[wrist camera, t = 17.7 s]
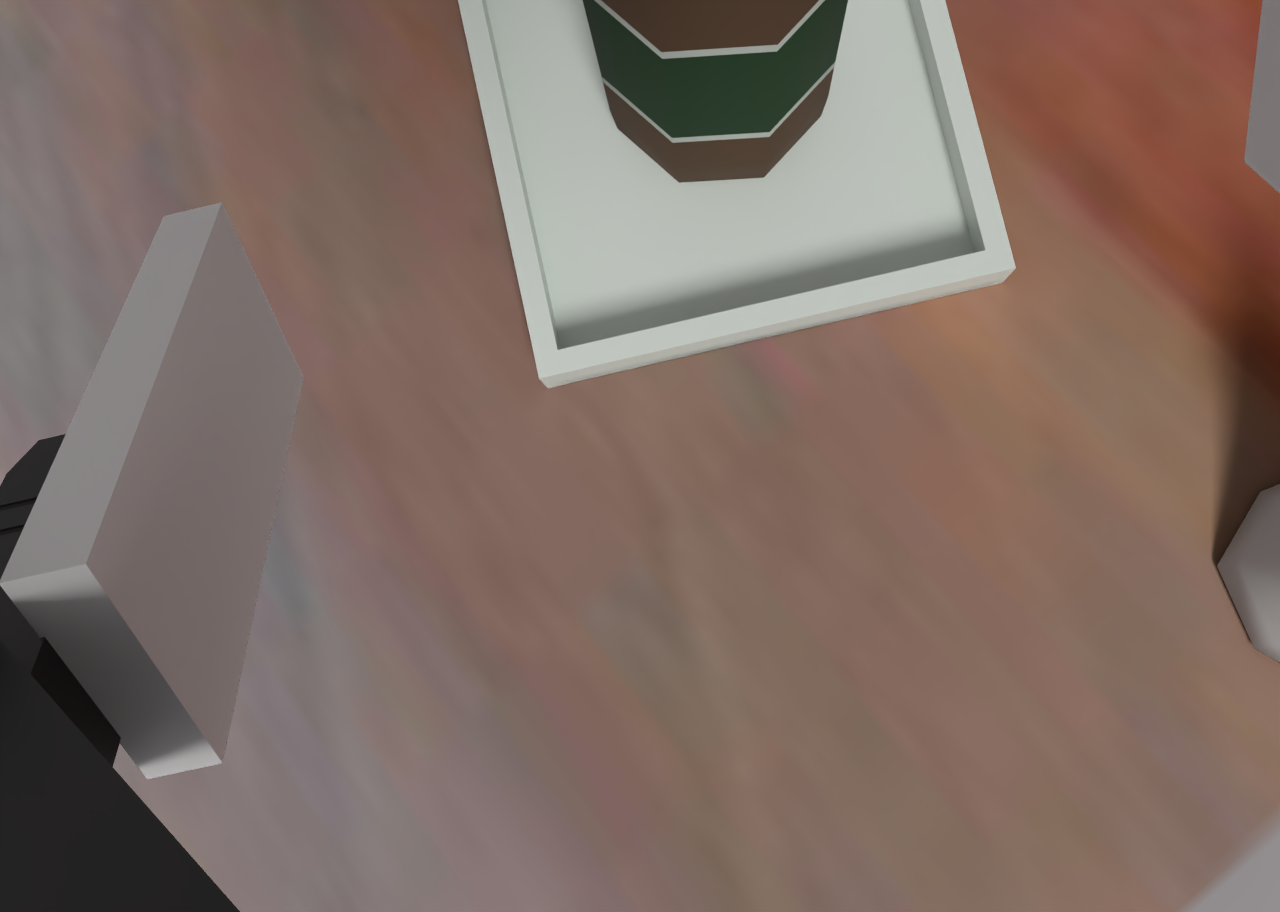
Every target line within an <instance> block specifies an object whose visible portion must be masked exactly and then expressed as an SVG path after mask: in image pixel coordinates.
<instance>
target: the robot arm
mask: <svg viewBox="0 0 1280 912" xmlns="http://www.w3.org/2000/svg"><path fill="white" fill-rule="evenodd" d="M1244 162H1245V163H1246V164H1247V165H1248V166H1250V167H1251V168H1252V169H1253V170H1254V171H1255V172H1256V173H1257V174H1259V175H1260V176H1261V177H1262V178H1263V179H1264V180H1265V181H1266V182H1268V183H1269V184H1270V185H1271V186H1272V187H1273V188H1274V189H1275V190H1277V191H1278V192H1279V193H1280V0H1263V2H1262V11H1261V19H1260V28H1259V37H1258V45H1257V54H1256V63H1255V71H1254V80H1253V89H1252V97H1251V106H1250V115H1249V124H1248V132H1247V141H1246V150H1245V158H1244ZM303 378H304V377H303V375H302V373H301V371H300V368H299V366H298V364H297V362H296V360H295V358H294V356H293V353H292V351H291V349H290V347H289V345H288V343H287V341H286V338H285V336H284V334H283V332H282V330H281V328H280V325H279V323H278V321H277V319H276V317H275V315H274V313H273V310H272V308H271V306H270V304H269V302H268V300H267V298H266V295H265V293H264V291H263V289H262V287H261V285H260V283H259V280H258V278H257V276H256V274H255V272H254V270H253V268H252V265H251V263H250V261H249V259H248V257H247V255H246V253H245V250H244V248H243V246H242V244H241V242H240V240H239V238H238V235H237V233H236V231H235V229H234V227H233V225H232V223H231V220H230V218H229V216H228V214H227V212H226V210H225V208H224V205H223V203H222V202H221V203H217V204H213V205H209V206H204V207H200V208H196V209H192V210H188V211H183V212H179V213H175V214H171V215H167V216H164V217H163V219H162V221H161V224H160V226H159V228H158V230H157V232H156V235H155V237H154V239H153V241H152V244H151V246H150V248H149V250H148V253H147V255H146V257H145V259H144V261H143V264H142V266H141V268H140V270H139V273H138V275H137V277H136V279H135V281H134V284H133V286H132V288H131V290H130V293H129V295H128V297H127V299H126V301H125V304H124V306H123V308H122V310H121V313H120V315H119V317H118V319H117V321H116V324H115V326H114V328H113V330H112V333H111V335H110V337H109V339H108V341H107V344H106V346H105V348H104V350H103V353H102V355H101V357H100V359H99V361H98V364H97V366H96V368H95V370H94V373H93V375H92V377H91V379H90V381H89V384H88V386H87V388H86V390H85V393H84V395H83V397H82V399H81V402H80V404H79V406H78V408H77V410H76V413H75V415H74V417H73V419H72V422H71V424H70V426H69V428H68V430H67V433H66V434H64V435H60V436H55V437H51V438H47V439H42V440H39V441H38V442H37V443H36V444H35V445H34V446H33V447H32V448H31V449H30V450H29V451H28V452H27V453H26V454H25V455H24V456H23V457H22V458H21V459H20V460H19V462H18V463H17V464H16V465H15V466H14V467H13V468H12V469H11V470H10V471H9V472H8V473H7V474H6V476H5V478H4V480H3V482H2V484H1V486H0V912H240V911H239V910H238V909H237V908H236V907H235V906H234V904H233V903H232V902H231V901H230V900H229V899H228V898H227V896H226V895H225V894H224V893H223V892H222V891H221V890H220V889H219V887H218V886H217V885H216V884H215V883H214V882H213V881H212V879H211V878H210V877H209V876H208V875H207V874H206V873H205V872H204V870H203V869H202V868H201V867H200V866H199V865H198V864H197V862H196V861H195V860H194V859H193V858H192V857H191V856H190V855H189V853H188V852H187V851H186V850H185V849H184V848H183V847H182V845H181V844H180V843H179V842H178V841H177V840H176V839H175V838H174V836H173V835H172V834H171V833H170V832H169V831H168V830H167V828H166V827H165V826H164V825H163V824H162V823H161V822H160V820H159V819H158V818H157V817H156V816H155V815H154V814H153V813H152V811H151V810H150V809H149V808H148V807H147V806H146V805H145V803H144V802H143V801H142V800H141V799H140V798H139V797H138V796H137V794H136V793H135V792H134V791H133V790H132V789H131V788H130V786H129V785H128V784H127V783H126V782H125V781H124V780H123V779H122V777H121V776H120V775H119V774H118V773H117V772H116V771H115V769H114V768H113V763H114V760H115V756H116V753H117V750H118V746H119V743H120V744H121V745H122V746H123V748H124V749H125V750H126V752H127V753H128V754H129V756H130V757H131V758H132V760H133V761H134V762H135V764H136V765H137V766H138V768H139V769H140V770H141V771H142V773H143V774H144V775H145V777H146V778H147V779H151V778H155V777H160V776H165V775H169V774H174V773H179V772H183V771H188V770H193V769H197V768H202V767H207V766H212V765H216V764H221V763H223V758H224V754H225V749H226V744H227V739H228V735H229V730H230V725H231V720H232V716H233V711H234V706H235V701H236V696H237V692H238V687H239V682H240V677H241V673H242V668H243V663H244V658H245V654H246V649H247V644H248V639H249V635H250V630H251V625H252V620H253V616H254V611H255V606H256V601H257V597H258V592H259V587H260V582H261V578H262V573H263V568H264V563H265V559H266V554H267V549H268V544H269V540H270V535H271V530H272V525H273V521H274V516H275V511H276V506H277V502H278V497H279V492H280V487H281V483H282V478H283V473H284V468H285V464H286V459H287V454H288V449H289V445H290V440H291V435H292V430H293V426H294V421H295V416H296V411H297V406H298V402H299V397H300V392H301V387H302V383H303Z"/></svg>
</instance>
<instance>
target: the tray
mask: <svg viewBox="0 0 1280 912" xmlns="http://www.w3.org/2000/svg"><path fill="white" fill-rule="evenodd" d="M458 2H459V7H460V12H461V16H462V21H463V26H464V30H465V35H466V40H467V44H468V49H469V54H470V58H471V63H472V68H473V72H474V77H475V82H476V86H477V91H478V96H479V100H480V105H481V110H482V114H483V119H484V124H485V128H486V133H487V138H488V142H489V147H490V152H491V156H492V161H493V166H494V170H495V175H496V180H497V184H498V189H499V194H500V198H501V203H502V208H503V212H504V217H505V222H506V226H507V231H508V236H509V240H510V245H511V250H512V254H513V259H514V264H515V268H516V273H517V278H518V282H519V287H520V292H521V296H522V301H523V306H524V310H525V315H526V320H527V324H528V329H529V334H530V338H531V343H532V348H533V352H534V357H535V361H536V366H537V371H538V375H539V379H540V380H541V381H542V382H543V383H544V384H545V386H546V387H547V388H551V387H555V386H560V385H564V384H568V383H572V382H577V381H581V380H585V379H590V378H594V377H598V376H603V375H607V374H611V373H616V372H620V371H624V370H629V369H633V368H637V367H642V366H646V365H650V364H654V363H659V362H663V361H667V360H672V359H676V358H680V357H685V356H689V355H693V354H698V353H702V352H706V351H711V350H715V349H719V348H723V347H728V346H732V345H736V344H741V343H745V342H749V341H754V340H758V339H762V338H767V337H771V336H775V335H780V334H784V333H788V332H793V331H797V330H801V329H805V328H810V327H814V326H818V325H823V324H827V323H831V322H836V321H840V320H844V319H849V318H853V317H857V316H862V315H866V314H870V313H874V312H879V311H883V310H887V309H892V308H896V307H900V306H905V305H909V304H913V303H918V302H922V301H926V300H931V299H935V298H939V297H944V296H948V295H952V294H956V293H961V292H965V291H969V290H974V289H978V288H982V287H987V286H991V285H995V284H1000V283H1003V281H1004V280H1005V279H1006V278H1007V277H1008V276H1009V275H1010V274H1011V273H1012V272H1013V270H1014V269H1015V268H1016V267H1015V263H1014V259H1013V255H1012V252H1011V248H1010V244H1009V240H1008V236H1007V233H1006V229H1005V225H1004V221H1003V218H1002V214H1001V210H1000V206H999V202H998V199H997V195H996V191H995V187H994V184H993V180H992V176H991V172H990V168H989V165H988V161H987V157H986V153H985V150H984V146H983V142H982V138H981V134H980V131H979V127H978V123H977V119H976V115H975V112H974V108H973V104H972V100H971V97H970V93H969V89H968V85H967V81H966V78H965V74H964V70H963V66H962V63H961V59H960V55H959V51H958V47H957V44H956V40H955V36H954V32H953V29H952V25H951V21H950V17H949V13H948V10H947V6H946V2H945V0H848V3H847V8H846V13H845V18H844V23H843V27H842V32H841V37H840V42H839V47H838V52H837V57H836V61H835V66H834V71H833V76H832V81H831V86H830V90H829V95H828V99H827V101H826V104H825V107H824V110H823V112H822V115H821V117H820V118H819V119H818V120H817V121H816V122H815V123H814V124H813V125H812V126H811V128H810V129H809V130H808V131H807V132H806V133H805V134H804V135H803V136H802V137H801V138H800V139H799V140H798V141H797V143H796V144H795V145H794V146H793V147H792V148H791V149H790V150H789V151H788V152H787V153H786V154H785V155H784V157H783V158H782V159H781V160H780V161H779V162H778V163H777V164H776V165H775V166H774V167H773V168H772V169H771V170H770V172H769V173H768V174H767V175H766V176H765V177H764V178H750V179H733V180H716V181H699V182H682V183H679V182H678V181H677V180H675V179H674V178H673V177H672V176H671V175H670V174H669V173H667V172H666V171H665V170H664V169H663V168H662V167H661V166H659V165H658V164H657V163H656V162H655V161H654V160H653V159H651V158H650V157H649V156H648V155H647V154H646V153H645V152H643V151H642V150H641V149H640V148H639V147H638V146H637V145H636V144H634V143H633V142H632V141H631V140H630V139H629V138H628V137H626V136H625V135H624V134H623V133H622V132H621V131H620V130H618V129H617V126H616V124H615V122H614V119H613V117H612V114H611V112H610V109H609V105H608V101H607V97H606V93H605V89H604V85H603V81H602V76H601V72H600V68H599V64H598V60H597V56H596V52H595V48H594V44H593V40H592V36H591V32H590V28H589V24H588V20H587V16H586V12H585V8H584V4H583V0H458Z"/></svg>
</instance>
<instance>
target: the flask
mask: <svg viewBox="0 0 1280 912" xmlns="http://www.w3.org/2000/svg"><path fill="white" fill-rule="evenodd" d="M1217 567H1218V570H1219V572H1220V574H1221V576H1222V578H1223V581H1224V583H1225V585H1226V587H1227V589H1228V592H1229V594H1230V596H1231V598H1232V600H1233V603H1234V605H1235V607H1236V609H1237V611H1238V614H1239V616H1240V618H1241V620H1242V622H1243V625H1244V627H1245V629H1246V631H1247V633H1248V636H1249V638H1250V640H1251V642H1252V644H1253V647H1254V648H1255V649H1257V650H1258V651H1260V652H1262V653H1263V654H1265V655H1267V656H1268V657H1270V658H1272V659H1274V660H1275V661H1277V662H1279V663H1280V484H1278V485H1276V486H1273V487H1271V488H1268V489H1266V490H1263V491H1261V492H1260V493H1259V495H1258V496H1257V498H1256V500H1255V501H1254V503H1253V505H1252V507H1251V508H1250V510H1249V512H1248V513H1247V515H1246V517H1245V519H1244V520H1243V522H1242V524H1241V525H1240V527H1239V529H1238V531H1237V532H1236V534H1235V536H1234V538H1233V539H1232V541H1231V543H1230V544H1229V546H1228V548H1227V550H1226V551H1225V553H1224V555H1223V556H1222V558H1221V560H1220V562H1219V563H1218V565H1217Z"/></svg>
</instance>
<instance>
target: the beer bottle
mask: <svg viewBox="0 0 1280 912" xmlns="http://www.w3.org/2000/svg"><path fill="white" fill-rule="evenodd" d="M847 3H848V0H583V4H584V8H585V12H586V16H587V20H588V24H589V28H590V32H591V36H592V40H593V44H594V48H595V52H596V56H597V60H598V64H599V68H600V72H601V76H602V81H603V85H604V89H605V93H606V97H607V101H608V105H609V109H610V112H611V114H612V117H613V119H614V122H615V124H616V126H617V129H618V130H620V131H621V132H622V133H623V134H624V135H625V136H626V137H628V138H629V139H630V140H631V141H632V142H633V143H634V144H636V145H637V146H638V147H639V148H640V149H641V150H642V151H643V152H645V153H646V154H647V155H648V156H649V157H650V158H651V159H653V160H654V161H655V162H656V163H657V164H658V165H659V166H661V167H662V168H663V169H664V170H665V171H666V172H667V173H669V174H670V175H671V176H672V177H673V178H674V179H675V180H677V181H678V182H679V183H682V182H699V181H716V180H733V179H750V178H764V177H765V176H766V175H767V174H768V173H769V172H770V170H771V169H772V168H773V167H774V166H775V165H776V164H777V163H778V162H779V161H780V160H781V159H782V158H783V157H784V155H785V154H786V153H787V152H788V151H789V150H790V149H791V148H792V147H793V146H794V145H795V144H796V143H797V141H798V140H799V139H800V138H801V137H802V136H803V135H804V134H805V133H806V132H807V131H808V130H809V129H810V128H811V126H812V125H813V124H814V123H815V122H816V121H817V120H818V119H819V118H820V117H821V115H822V112H823V110H824V107H825V104H826V101H827V99H828V95H829V90H830V86H831V81H832V76H833V71H834V66H835V61H836V57H837V52H838V47H839V42H840V37H841V32H842V27H843V23H844V18H845V13H846V8H847Z"/></svg>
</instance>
